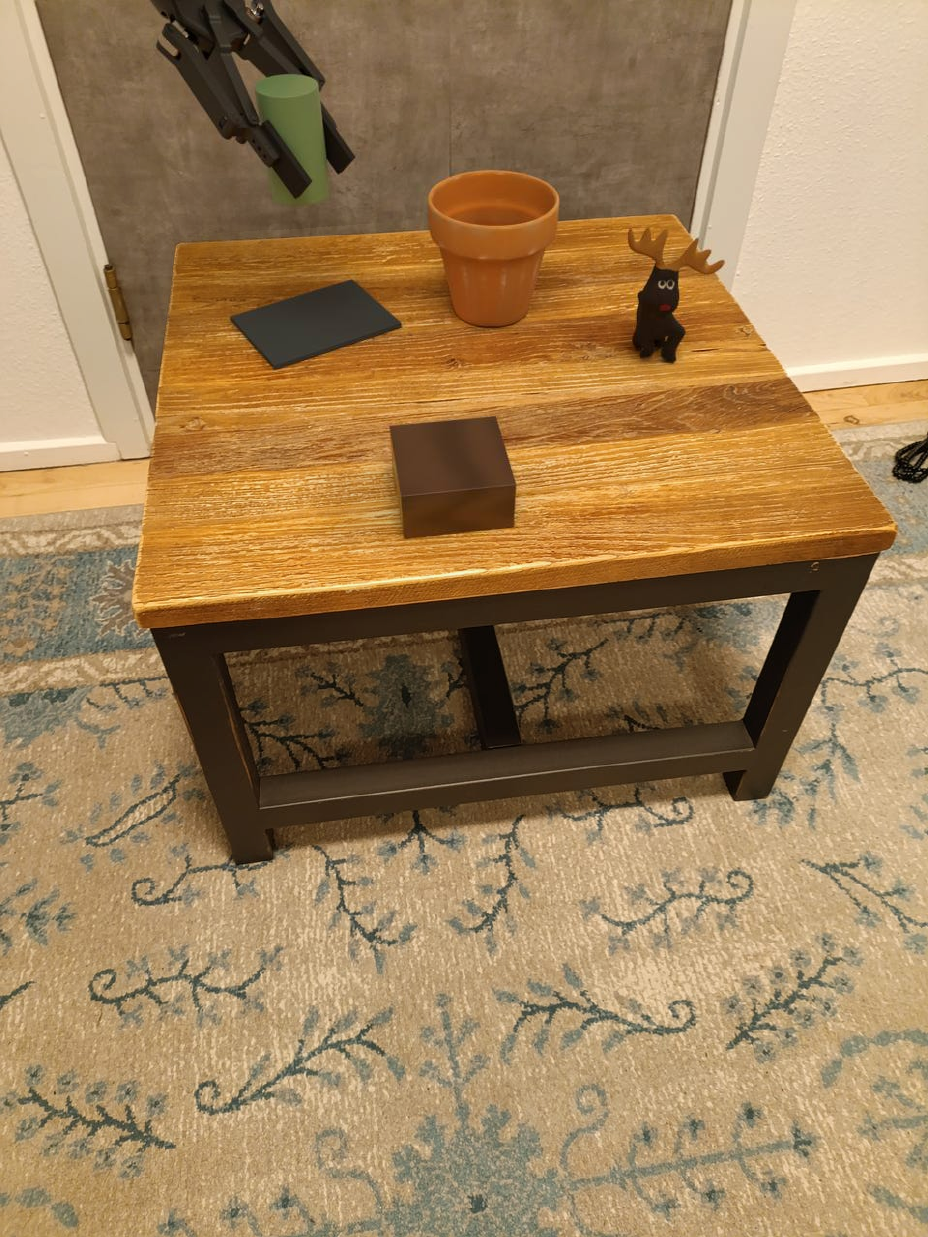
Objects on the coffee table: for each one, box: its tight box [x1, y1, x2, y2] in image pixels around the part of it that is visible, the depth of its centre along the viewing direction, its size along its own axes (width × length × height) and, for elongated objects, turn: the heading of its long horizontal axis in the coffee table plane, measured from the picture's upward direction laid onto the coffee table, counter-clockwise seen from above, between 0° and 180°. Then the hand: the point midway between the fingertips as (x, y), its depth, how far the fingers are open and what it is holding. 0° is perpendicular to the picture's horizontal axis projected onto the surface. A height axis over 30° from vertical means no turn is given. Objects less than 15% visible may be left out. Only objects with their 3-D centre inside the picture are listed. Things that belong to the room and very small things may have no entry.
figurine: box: [627, 227, 726, 363], centre depth 94 cm, size 11×7×15 cm
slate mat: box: [229, 278, 402, 371], centre depth 103 cm, size 16×12×1 cm
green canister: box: [253, 74, 331, 207], centre depth 88 cm, size 6×6×10 cm
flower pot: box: [427, 169, 561, 328], centre depth 101 cm, size 14×14×13 cm
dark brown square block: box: [389, 415, 517, 539], centre depth 82 cm, size 10×10×5 cm
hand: (325, 177), depth 88 cm, fingers closed on green canister, 6 cm apart
